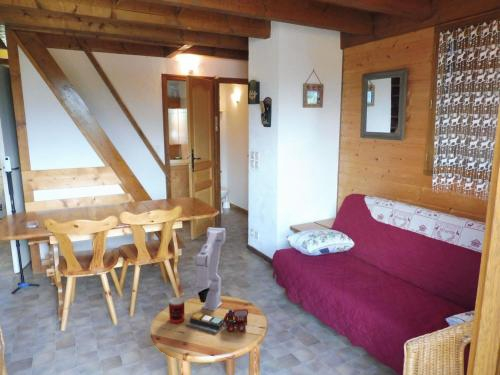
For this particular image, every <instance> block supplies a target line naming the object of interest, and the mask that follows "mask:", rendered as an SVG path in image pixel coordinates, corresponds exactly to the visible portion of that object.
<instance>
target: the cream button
mask: <svg viewBox="0 0 500 375" xmlns="http://www.w3.org/2000/svg"><path fill="white" fill-rule="evenodd" d="M211 316H212V315H209V316H207V314H205V316H204V317H203V318H202V321H204V322H208V323H209V322H210V321H211V320H212V317H211Z"/></svg>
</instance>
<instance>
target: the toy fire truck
mask: <svg viewBox="0 0 500 375" xmlns="http://www.w3.org/2000/svg"><path fill="white" fill-rule="evenodd" d="M248 315H249V310H248V308H241V309H229V310H228V312H227V313H226V314H225V316H224V317H223V318H222V319H223V328H226V330H227V332H228V333H233V332H235V330H236V329H237V331H238V332H240V333H244V332H245V330H246V329H247V327H246V326H248ZM236 327H237V328H236Z"/></svg>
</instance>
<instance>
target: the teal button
mask: <svg viewBox="0 0 500 375" xmlns="http://www.w3.org/2000/svg"><path fill="white" fill-rule="evenodd" d="M219 318H220V317H217V318H214V319H213V320H212V321H211V324H215V325H219V324H220V323H221V322H222V319H223V318H221V319H219Z"/></svg>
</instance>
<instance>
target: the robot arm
mask: <svg viewBox="0 0 500 375" xmlns="http://www.w3.org/2000/svg"><path fill="white" fill-rule="evenodd" d="M226 235H227V231H226V228H225V227H210V226H209V227H207V229H206V238H207V240H206V242H205V244H203V245H202V247H201V249H200V251H199V253H198V254H196V255H195V259H194V264H195V269H196V283H195V288H194V290H193V295H194V296H195V295H196V296H198V297H199V301H200V303H203V304H204V305H202V306H201V308H202V309H204V310H209V311H213V312H215V311H216V310H217V309H218V308H219V307H220V306H221V305H222V304H223V302H222V300H221V298H222V297H221V295H222V293H221V292H222V291H221V288H222V278H221V277H220V276H219V275H218V269H219V264H220V263H219V261H220V256H221V249H222V245H224V244H225V241H226Z"/></svg>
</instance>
